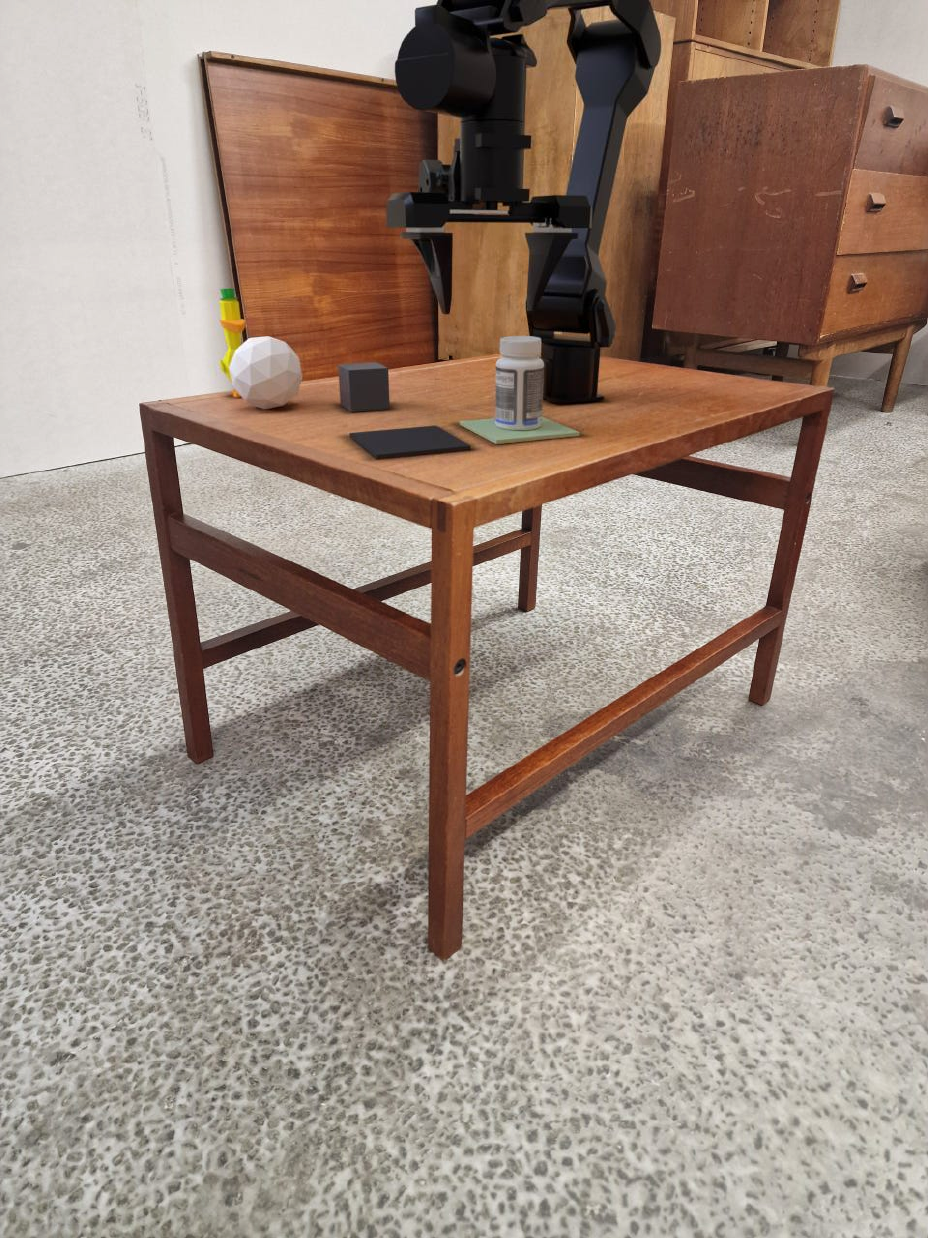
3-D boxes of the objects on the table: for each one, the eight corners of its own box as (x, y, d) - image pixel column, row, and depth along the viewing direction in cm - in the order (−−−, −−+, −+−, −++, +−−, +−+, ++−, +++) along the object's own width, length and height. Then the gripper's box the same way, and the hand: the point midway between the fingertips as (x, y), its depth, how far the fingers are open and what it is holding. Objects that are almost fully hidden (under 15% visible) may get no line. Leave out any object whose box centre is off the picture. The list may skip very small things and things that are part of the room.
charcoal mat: (436, 429, 81) (435, 425, 81) (470, 449, 73) (470, 445, 73) (349, 436, 78) (349, 432, 78) (376, 459, 70) (376, 454, 70)
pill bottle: (538, 420, 83) (542, 335, 79) (544, 431, 78) (548, 341, 75) (492, 420, 83) (494, 335, 79) (496, 431, 78) (497, 341, 75)
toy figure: (262, 399, 95) (250, 289, 89) (231, 401, 93) (218, 290, 88) (249, 390, 100) (237, 286, 95) (220, 392, 99) (207, 287, 93)
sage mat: (537, 417, 86) (537, 414, 86) (579, 436, 78) (579, 431, 78) (459, 424, 83) (459, 420, 83) (495, 444, 75) (496, 440, 75)
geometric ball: (255, 430, 92) (224, 368, 93) (318, 401, 93) (287, 340, 93) (242, 408, 85) (209, 341, 85) (311, 377, 86) (278, 311, 86)
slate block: (378, 402, 94) (376, 361, 92) (389, 409, 90) (388, 367, 88) (340, 404, 92) (337, 364, 90) (350, 412, 88) (348, 370, 86)
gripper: (540, 137, 81) (534, 302, 88) (363, 127, 74) (371, 308, 81) (601, 125, 72) (588, 311, 78) (405, 113, 65) (410, 318, 72)
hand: (489, 312), depth 78 cm, fingers open, 9 cm apart
